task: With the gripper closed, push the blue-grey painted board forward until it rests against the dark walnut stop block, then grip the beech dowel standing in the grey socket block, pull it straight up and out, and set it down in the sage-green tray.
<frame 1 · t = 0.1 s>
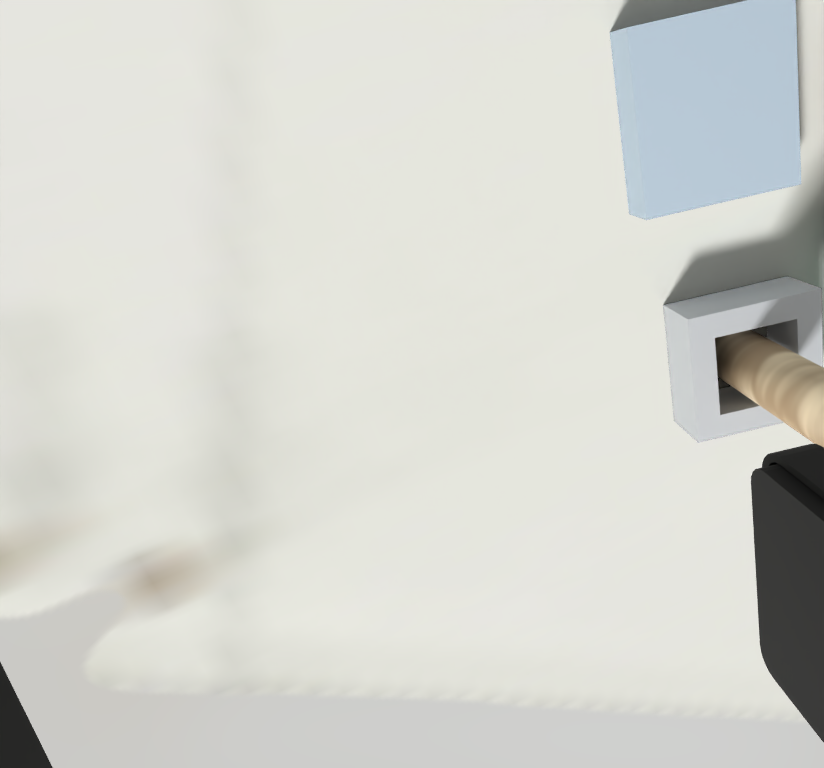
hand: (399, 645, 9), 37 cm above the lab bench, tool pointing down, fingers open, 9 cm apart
socket block: (729, 350, 49), on the lab bench
dowel: (781, 381, 43), in the socket block
board: (693, 109, 44), on the lab bench
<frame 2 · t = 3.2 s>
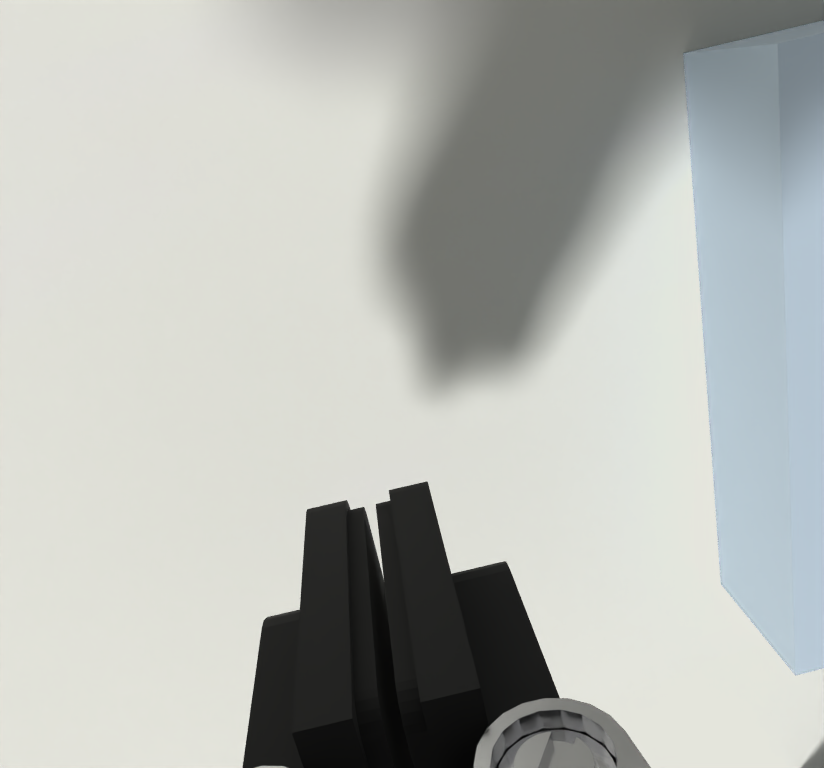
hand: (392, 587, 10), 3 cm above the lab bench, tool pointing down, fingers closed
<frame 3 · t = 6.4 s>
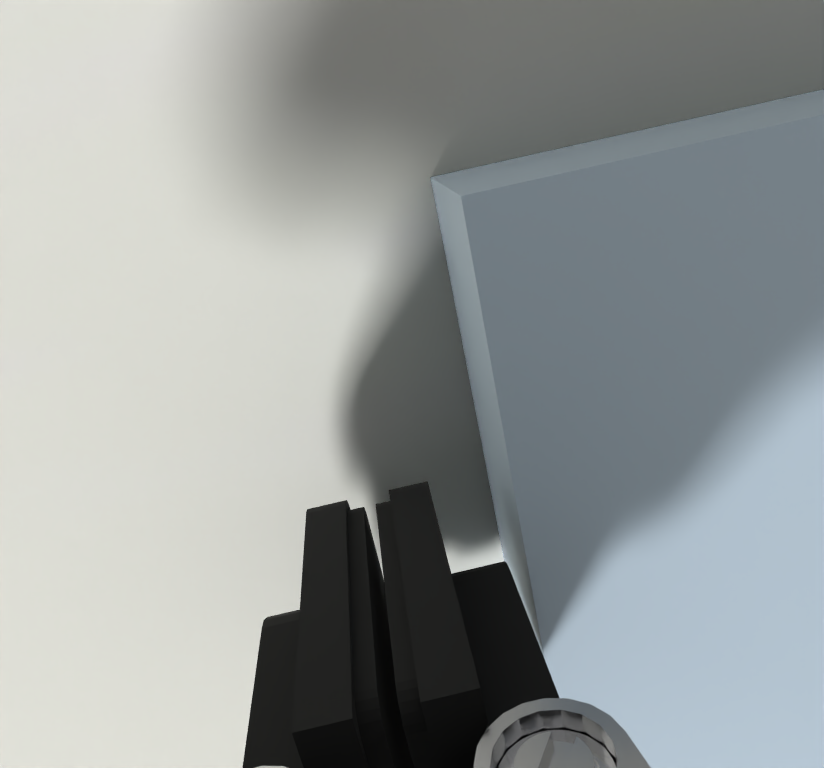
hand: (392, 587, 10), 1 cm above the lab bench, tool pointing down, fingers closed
board: (762, 430, 12), on the lab bench
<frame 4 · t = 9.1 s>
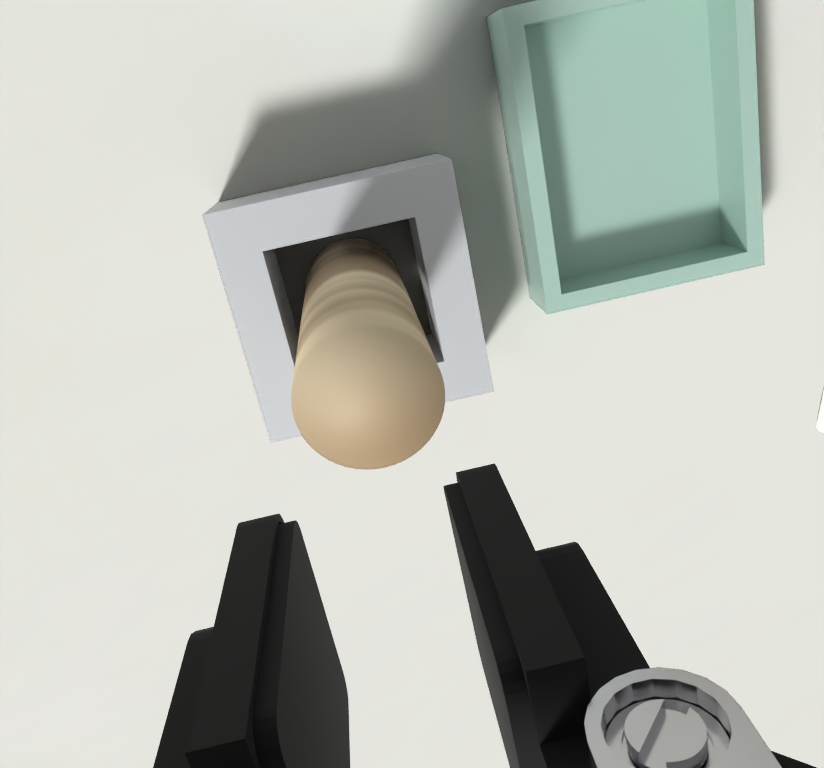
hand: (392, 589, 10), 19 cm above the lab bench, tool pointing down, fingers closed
tray: (616, 142, 28), on the lab bench
socket block: (353, 285, 28), on the lab bench
dowel: (359, 328, 23), in the socket block
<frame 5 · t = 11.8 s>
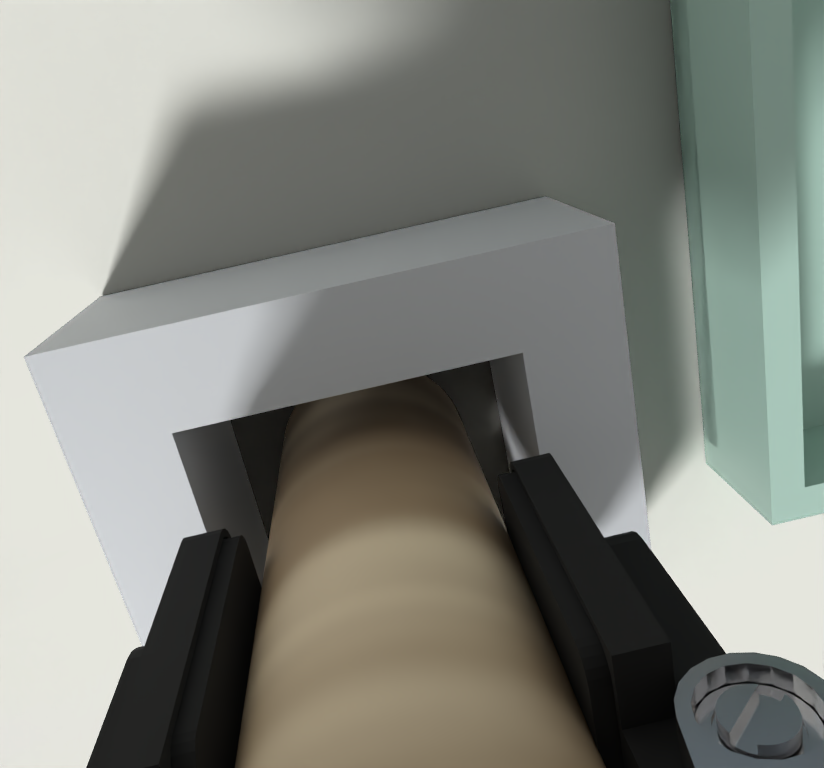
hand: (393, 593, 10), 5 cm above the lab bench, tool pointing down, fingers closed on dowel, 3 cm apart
socket block: (374, 448, 15), on the lab bench
dowel: (400, 654, 9), in the socket block, touching gripper
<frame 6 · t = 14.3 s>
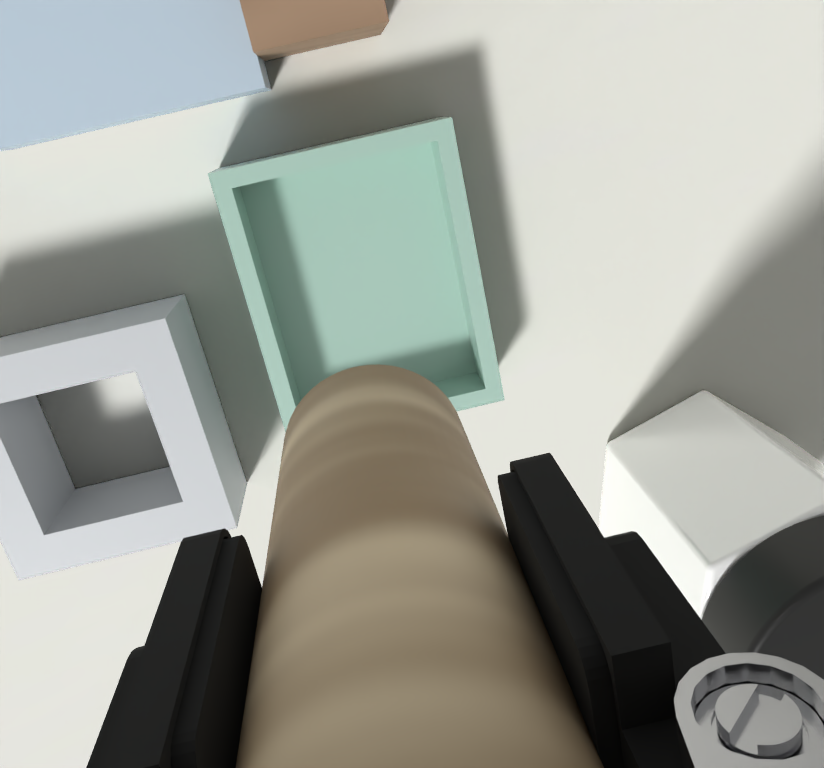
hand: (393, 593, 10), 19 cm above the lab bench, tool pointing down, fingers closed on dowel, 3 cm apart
tray: (363, 279, 28), on the lab bench
socket block: (115, 417, 29), on the lab bench
dowel: (400, 657, 9), point 21 cm above the lab bench, touching gripper
jar: (685, 483, 33), on the lab bench
when the fingers open (7 cm above the lab bench, at t = 17.0 s): dowel drops 1 cm, resting on tray.
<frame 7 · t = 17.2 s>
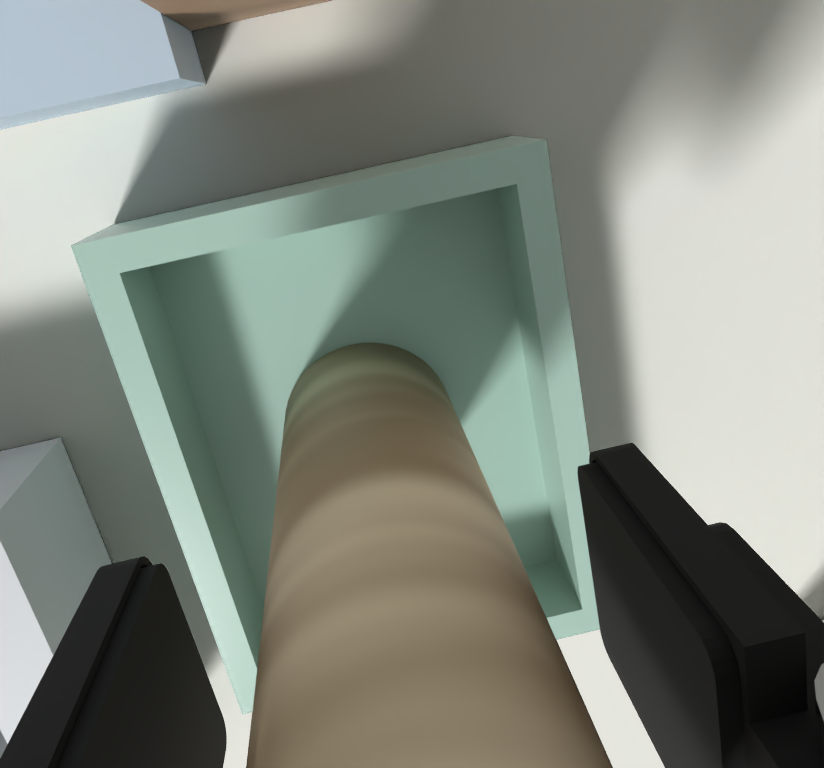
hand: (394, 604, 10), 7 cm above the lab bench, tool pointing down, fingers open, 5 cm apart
tray: (370, 411, 17), on the lab bench
dowel: (395, 593, 10), in the tray, point 7 cm above the lab bench
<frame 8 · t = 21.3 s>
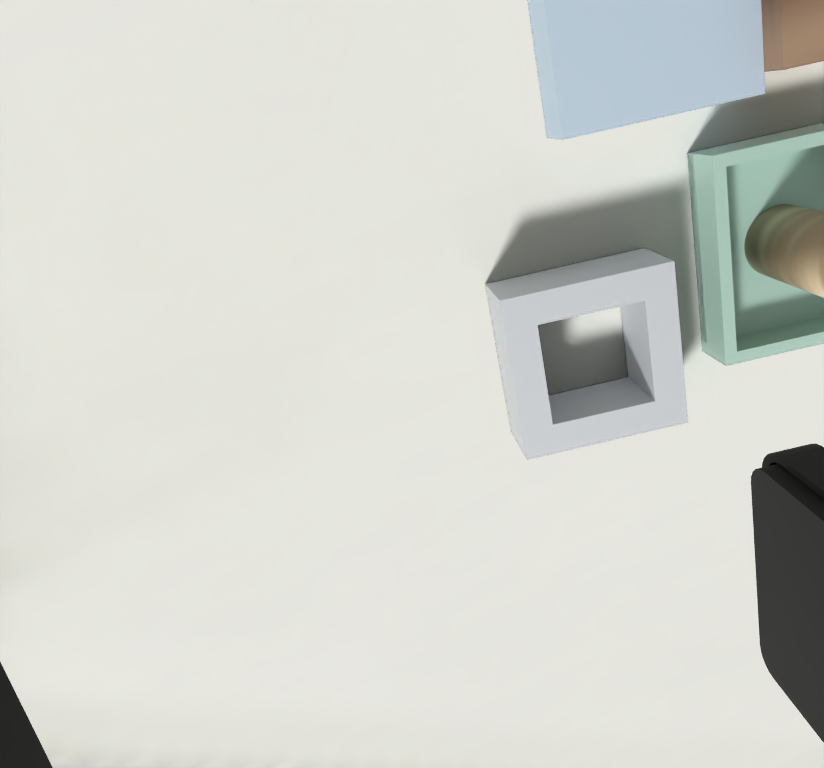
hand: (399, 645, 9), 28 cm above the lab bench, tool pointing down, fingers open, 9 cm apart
tray: (773, 238, 38), on the lab bench
socket block: (575, 342, 38), on the lab bench
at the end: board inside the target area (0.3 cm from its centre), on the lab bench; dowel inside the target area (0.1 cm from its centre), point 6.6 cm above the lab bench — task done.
